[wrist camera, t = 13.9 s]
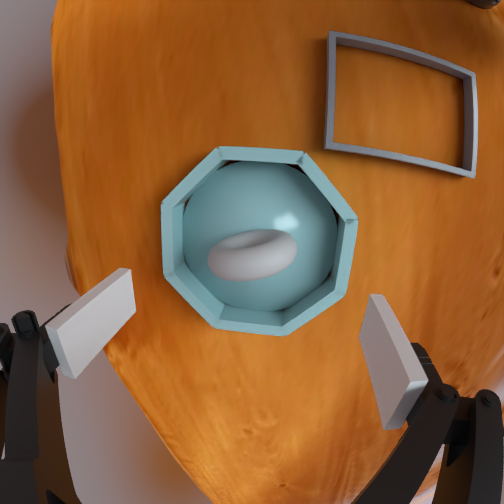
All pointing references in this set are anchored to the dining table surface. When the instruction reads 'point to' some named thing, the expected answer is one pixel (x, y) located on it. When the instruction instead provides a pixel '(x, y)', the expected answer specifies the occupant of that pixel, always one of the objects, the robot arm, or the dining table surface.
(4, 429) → the robot arm
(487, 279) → the dining table surface
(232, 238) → the donut
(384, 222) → the dining table surface
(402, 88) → the dining table surface
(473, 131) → the grey rectangular frame
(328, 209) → the bowl
